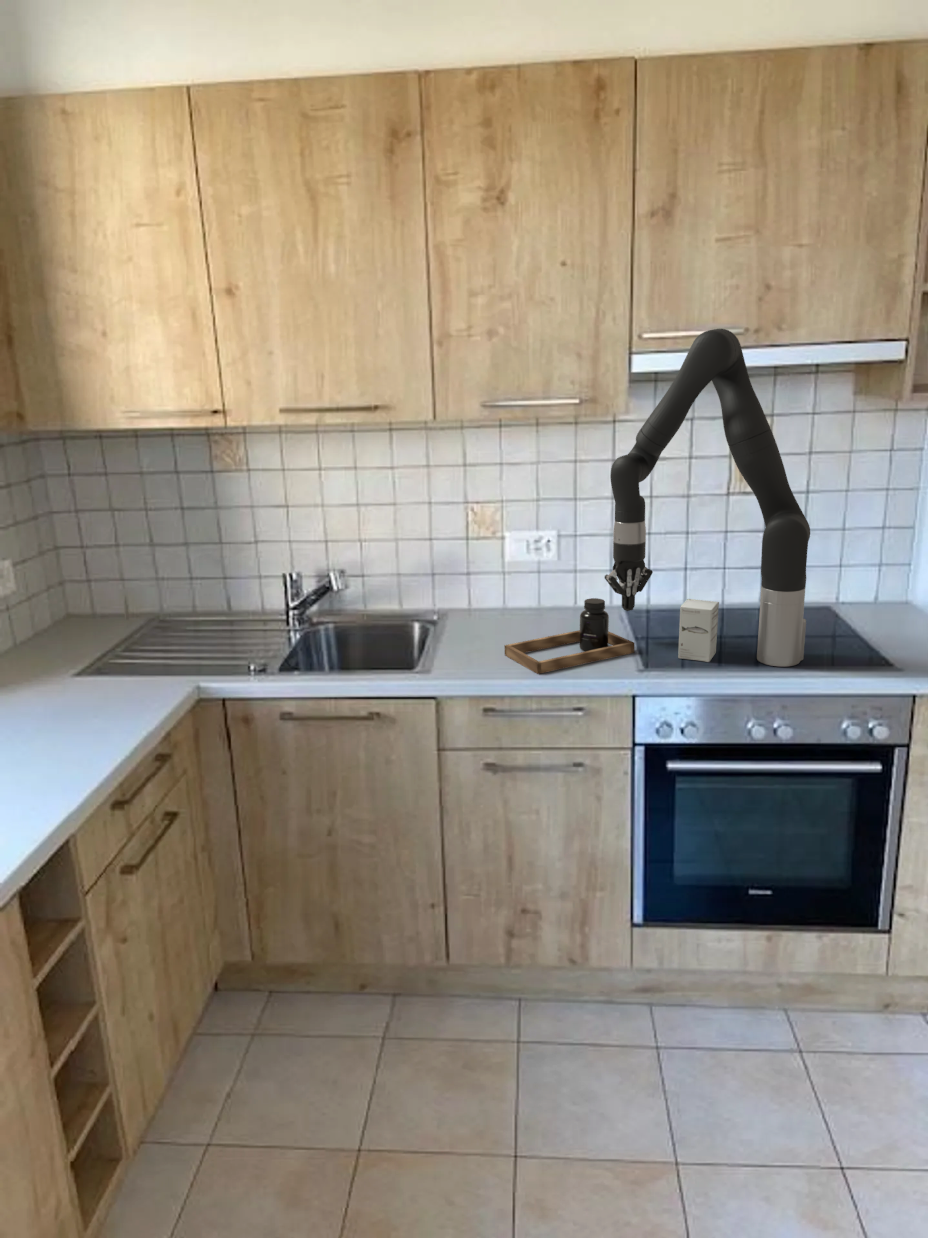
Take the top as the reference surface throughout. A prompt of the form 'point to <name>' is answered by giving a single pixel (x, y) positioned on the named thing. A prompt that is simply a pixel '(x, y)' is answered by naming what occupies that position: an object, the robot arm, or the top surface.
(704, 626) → the supplement box
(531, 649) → the walnut frame
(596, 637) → the supplement bottle
